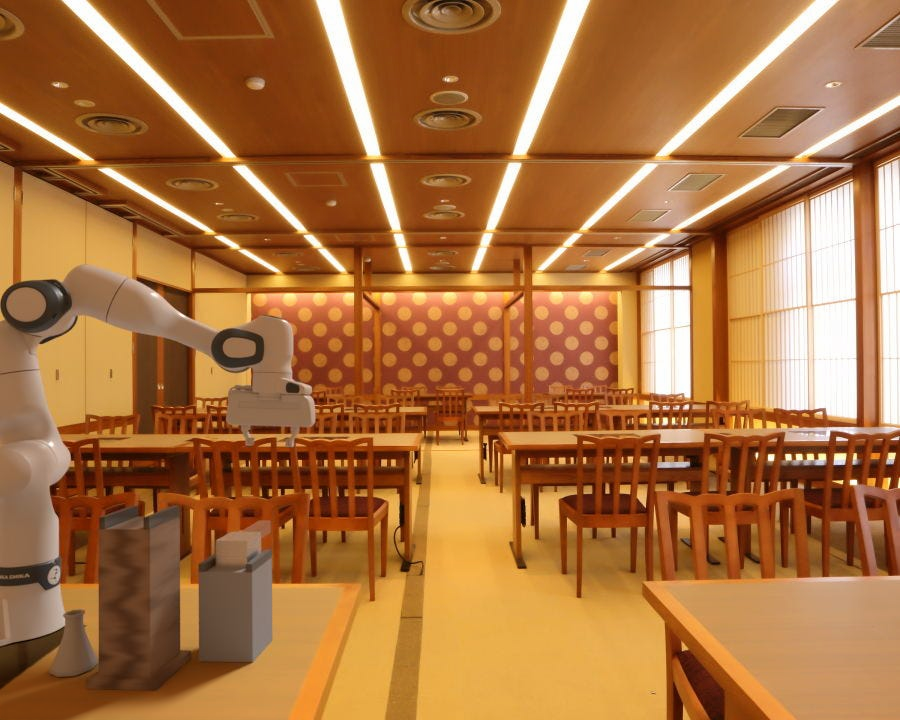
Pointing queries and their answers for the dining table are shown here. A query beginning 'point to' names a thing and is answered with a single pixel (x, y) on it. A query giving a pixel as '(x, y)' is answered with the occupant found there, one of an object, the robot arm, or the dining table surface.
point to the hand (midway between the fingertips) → (269, 446)
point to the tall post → (139, 600)
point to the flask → (74, 648)
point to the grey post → (235, 609)
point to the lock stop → (241, 545)
